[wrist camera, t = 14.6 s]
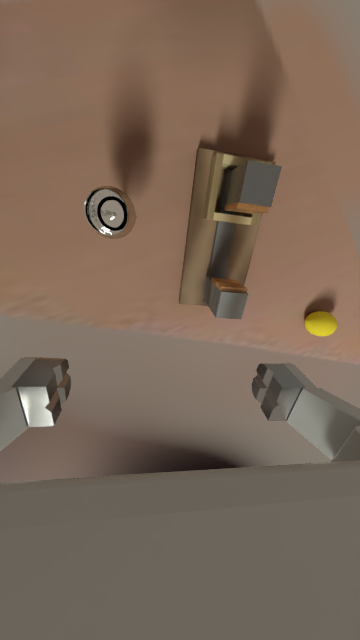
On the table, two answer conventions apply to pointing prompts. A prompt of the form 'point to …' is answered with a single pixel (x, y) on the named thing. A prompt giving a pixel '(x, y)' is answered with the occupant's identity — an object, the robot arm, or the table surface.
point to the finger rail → (217, 240)
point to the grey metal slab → (249, 187)
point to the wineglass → (110, 212)
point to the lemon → (320, 323)
